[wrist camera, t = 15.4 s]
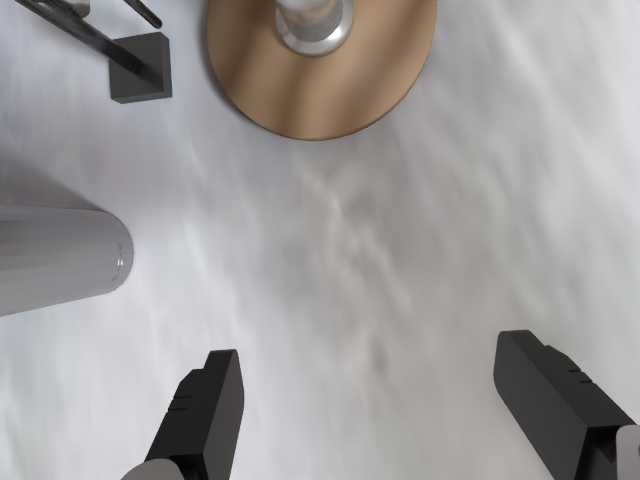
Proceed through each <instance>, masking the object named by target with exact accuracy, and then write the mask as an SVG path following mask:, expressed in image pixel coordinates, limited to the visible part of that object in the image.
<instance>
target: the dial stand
mask: <svg viewBox="0 0 640 480" xmlns="http://www.w3.org/2000/svg"><path fill="white" fill-rule="evenodd" d="M15 1H17V2H18V3H20V4H21V5H23V6H25V7H26V8H28V9H30V10H31V11H33V12H34V13H36V14H38V15H39V16H41V17H42V18H44V19H46V20H47V21H49V22H50V23H52V24H54V25H55V26H57V27H59V28H60V29H62V30H63V31H65V32H67V33H68V34H70V35H71V36H73V37H75V38H76V39H78V40H80V41H81V42H83V43H84V44H86V45H88V46H89V47H91V48H92V49H94V50H96V51H97V52H99V53H101V54H102V55H104V56H105V57H107V58H109V71H110V87H111V99H112V100H115V101H117V102H119V103H121V104H124V103H132V102H139V101H147V100H154V99H162V98H169V97H172V81H171V65H170V48H169V39H168V38H167V37H166V36H165V35H164V34H162V33H161V32H155V33H149V34H143V35H137V36H131V37H125V38H120V39H114V40H111V39H110V38H109V37H107V36H106V35H104V34H103V33H101V32H100V31H98V30H97V29H96V28H94V27H93V26H91V25H90V24H88V23H87V22H86V21H84V20H83V19H81V18H84V17H86V16H87V15H88V14H89V12H90V1H89V0H15ZM124 1H125V2H126V3H127V4H128V5H129V6H131V7H132V8H133V9H134V10H135V11H136V12H137V13H139V14H140V15H141V16H142V17H143V18H144V19H145V20H147V21H148V22H149V23H150V24H151V25H152V26H153V27H155V28H157V29H160V28H161V27H162V21H161V20H160V19H159V18H158V17H157V16H156V15H155V14H154V13H153V12H152V11H151V10H150V9H148V8H147V7H146V6H145V5H144V4H143V3H142V2H141V1H140V0H124Z"/></svg>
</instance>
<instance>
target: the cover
mask: <svg viewBox="0 0 640 480" xmlns="http://www.w3.org/2000/svg"><path fill="white" fill-rule="evenodd" d="M274 2H275V4H276V6H277V8H276V24H277V28H278V30H279V33H280V35H281V36H282V38H283V40H284V42H285V44H286V45H287V46H288V47H289V48H290V49H291V50H292V51H293V52H294V53H296V54H298V55H300V56H303V57H307V58H320V57H324V56H327V55H329V54H331V53H333V52H335V51H336V50H337V49H339V48H340V47H341V46H342V45H343V44H344V43H345V41H346V40H347V38H348V37H349V35H350V33H351V30H352V27H353V23H354V8H353V1H352V0H274Z"/></svg>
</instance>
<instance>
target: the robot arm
mask: <svg viewBox="0 0 640 480" xmlns="http://www.w3.org/2000/svg"><path fill="white" fill-rule="evenodd" d="M133 254H134V253H133V244H132V241H131V237H130V235H129V233H128V231H127V229H126V227H125V226H124V225H123V224H122V222H121V221H120V220H118V219H117V218H116V217H115V216H113V215H111V214H109V213H107V212H102V211H96V210H82V209H69V208H56V207H41V206H27V205H13V204H0V317H2V316H6V315H11V314H15V313H20V312H25V311H29V310H34V309H38V308H43V307H47V306H52V305H56V304H61V303H65V302H70V301H75V300H79V299H84V298H88V297H92V296H97V295H101V294H106V293H109V292H111V291H113V290H115V289H116V288H118V287H119V286H120V285H121V284H122V283H123V282H124V281H125V279H126V278H127V276H128V274H129V272H130V270H131V267H132V263H133ZM493 376H494V383H495V386H496V389H497V391H498V393H499V395H500V397H501V398H502V400H503V401H504V403H505V404H506V406H507V407H508V409H509V410H510V412H511V413H512V415H513V417H514V418H515V420H516V421H517V423H518V424H519V426H520V427H521V429H522V430H523V432H524V433H525V435H526V437H527V438H528V440H529V441H530V443H531V444H532V446H533V447H534V449H535V450H536V452H537V453H538V455H539V457H540V458H541V460H542V461H543V463H544V464H545V466H546V467H547V469H548V470H549V472H550V473H551V475H552V477H553V478H554V480H640V425H637V424H636V423H635V422H634V421H633V420H632V419H631V418H630V417H629V416H628V415H627V414H626V413H625V412H624V411H623V410H622V409H621V408H620V407H619V406H618V405H617V404H616V403H615V402H614V401H613V400H612V399H611V398H610V397H609V396H608V395H607V394H606V393H605V392H604V391H602V390H601V389H600V388H599V387H598V386H597V385H596V384H595V383H593V382H592V380H591V379H590V378H589V377H588V376H587V375H586V374H585V373H584V372H581V369H580V368H579V367H578V366H577V365H576V364H575V363H574V362H573V361H572V360H571V359H570V358H569V357H568V356H566V355H565V354H563V353H561V352H560V351H558V350H556V349H555V348H553V347H551V346H549V345H547V346H544V345H543V344H542V343H541V342H540V341H539V340H538V339H537V338H536V336H535V335H534V334H533V333H532V332H531V331H529V330H513V331H502V332H500V333H499V335H498V341H497V348H496V356H495V364H494V372H493ZM243 410H244V387H243V381H242V375H241V369H240V363H239V357H238V353H237V350H236V349H229V350H215V351H210V353H209V355H208V358H207V360H206V363H205V365H204V368H203V369H193V370H192V371H191V372H190V373H189V374H188V375H187V376H186V377H185V378H184V379H183V380H182V381H181V382H180V384H179V386H178V388H177V390H176V392H175V395H174V397H173V400H172V401H171V403H170V406H169V408H168V412H167V413H166V414H165V417H164V419H163V421H162V423H161V425H160V428H159V430H158V432H157V434H156V436H155V439H154V441H153V443H152V445H151V448H150V450H149V452H148V454H147V456H146V459H145V461H144V462H143V463H142V464H140V465H138V466H136V467H135V468H133V469H132V470H130V471H129V472H128V473H127V474H126V475H125V476H124V477H123V478H122V479H121V480H229V478H230V473H231V468H232V463H233V458H234V454H235V449H236V444H237V439H238V434H239V430H240V425H241V420H242V415H243Z"/></svg>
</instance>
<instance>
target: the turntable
mask: <svg viewBox="0 0 640 480" xmlns="http://www.w3.org/2000/svg"><path fill="white" fill-rule="evenodd" d="M352 1H353V8H354V23H353V27H352V30H351V33H350V35H349V37H348V38H347V40H346V41H345V43H344V44H343V45H342V46H341V47H340V48H339V49H337V50H336V51H335V52H333V53H331V54H329V55H327V56H324V57H320V58H307V57H303V56H300V55H298V54H296V53H294V52H293V51H292V50H291V49H290V48H289V47H288V46H287V45H286V44H285V42H284V40H283V38H282V36H281V35H280V33H279V30H278V28H277V24H276V8H277V6H276V4H275V2H274V0H210V2H209V6H208V14H207V23H206V37H207V45H208V52H209V56H210V60H211V64H212V67H213V69H214V72H215V75H216V77H217V79H218V81H219V83H220V85H221V86H222V88H223V90H224V92H225V93H226V94H227V96H228V97H229V98H230V100H231V101H232V102H233V103H234V104H235V105H236V106H237V107H238V108H239V109H240V110H241V111H242V112H243V113H244V114H245V115H247V116H248V117H249V118H250V119H252V120H253V121H254V122H256V123H257V124H258V125H260V126H262V127H263V128H265V129H267V130H269V131H271V132H273V133H276V134H278V135H281V136H284V137H288V138H292V139H296V140H306V141H321V140H330V139H336V138H340V137H344V136H347V135H350V134H353V133H356V132H358V131H360V130H362V129H364V128H367V127H368V126H370V125H372V124H373V123H375V122H376V121H378V120H380V119H381V118H382V117H384V116H385V115H386V114H387V113H389V112H390V111H391V110H392V109H393V108H394V107H395V106H396V105H397V104H398V103H399V102H400V101H401V100H402V99H403V98H404V97H405V95H406V94H407V93H408V92H409V90H410V89H411V88H412V86H413V85H414V83H415V81H416V80H417V78H418V76H419V75H420V73H421V71H422V69H423V66H424V64H425V62H426V59H427V57H428V54H429V50H430V47H431V43H432V40H433V35H434V30H435V24H436V17H437V0H352Z"/></svg>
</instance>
